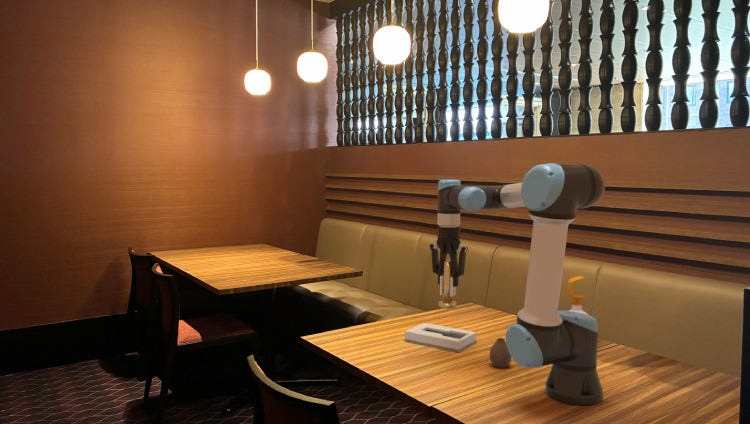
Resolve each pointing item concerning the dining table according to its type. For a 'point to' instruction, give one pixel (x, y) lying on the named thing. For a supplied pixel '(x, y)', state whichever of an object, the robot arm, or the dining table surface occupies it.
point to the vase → (500, 354)
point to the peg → (447, 287)
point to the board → (440, 337)
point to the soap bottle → (575, 296)
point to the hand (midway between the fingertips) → (447, 295)
